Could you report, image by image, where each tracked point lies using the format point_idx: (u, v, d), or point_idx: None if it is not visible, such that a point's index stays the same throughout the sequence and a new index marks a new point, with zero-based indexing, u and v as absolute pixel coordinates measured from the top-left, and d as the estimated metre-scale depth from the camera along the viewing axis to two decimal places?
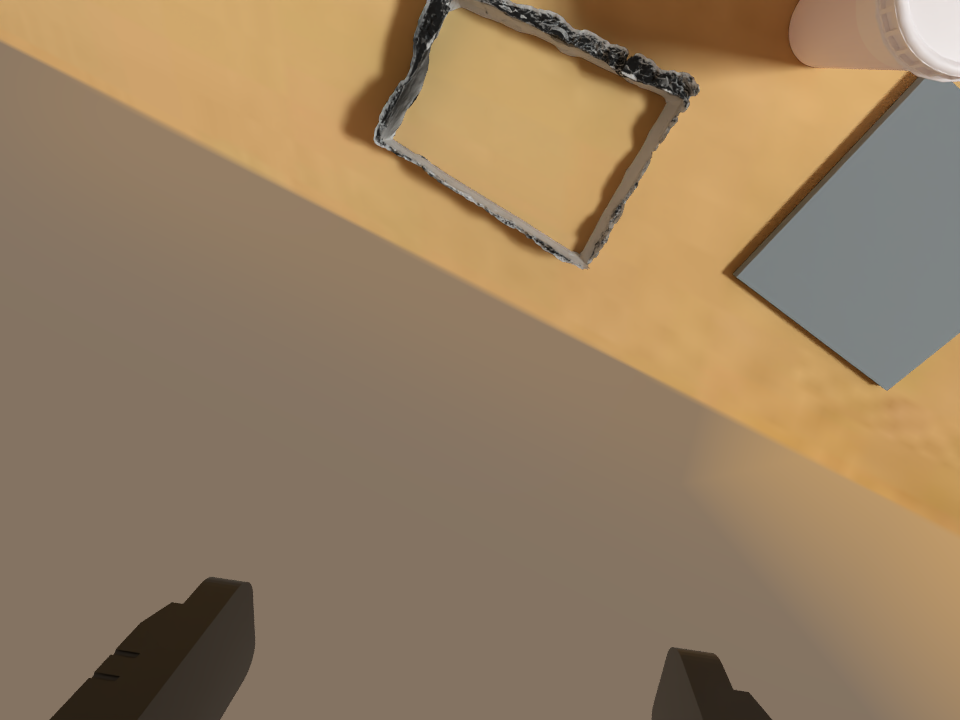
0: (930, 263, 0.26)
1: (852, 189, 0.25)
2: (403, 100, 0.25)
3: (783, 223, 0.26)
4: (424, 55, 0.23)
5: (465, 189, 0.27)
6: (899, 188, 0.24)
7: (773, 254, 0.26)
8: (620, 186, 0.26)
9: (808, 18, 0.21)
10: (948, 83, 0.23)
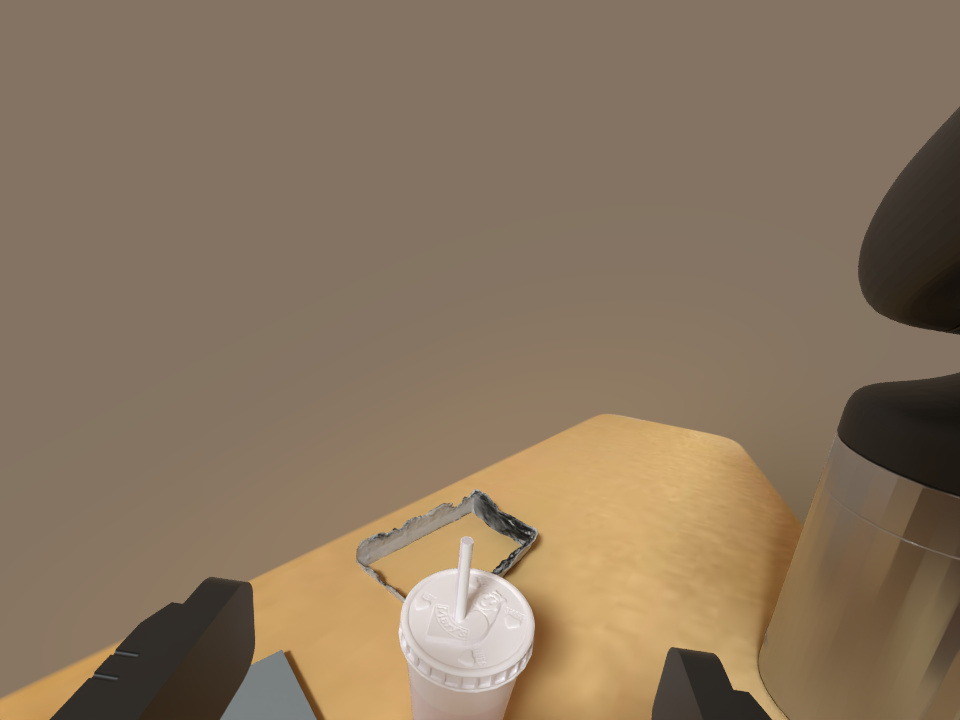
0: None
1: None
2: (488, 511, 0.45)
3: (303, 695, 0.28)
4: (506, 520, 0.43)
5: (433, 524, 0.43)
6: None
7: (282, 679, 0.28)
8: (396, 597, 0.36)
9: None
10: None
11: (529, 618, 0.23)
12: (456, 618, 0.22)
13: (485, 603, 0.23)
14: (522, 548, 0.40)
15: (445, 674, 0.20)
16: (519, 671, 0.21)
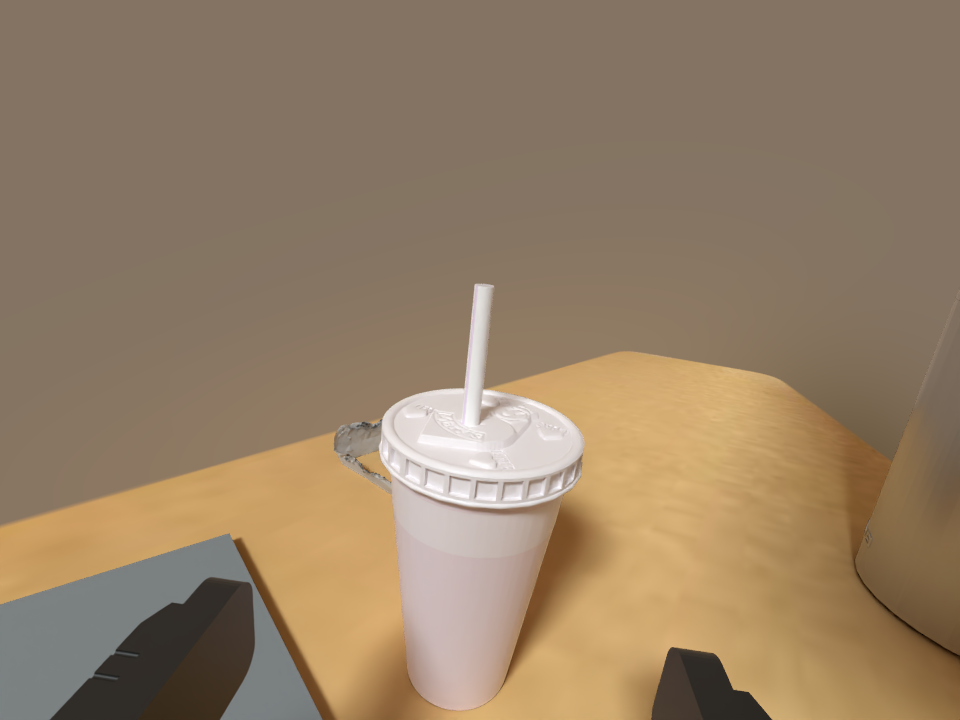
0: None
1: None
2: None
3: (252, 583, 0.20)
4: None
5: None
6: None
7: (224, 563, 0.21)
8: (383, 488, 0.28)
9: None
10: None
11: (574, 433, 0.15)
12: (466, 421, 0.15)
13: (509, 414, 0.16)
14: None
15: (450, 477, 0.13)
16: (565, 489, 0.14)
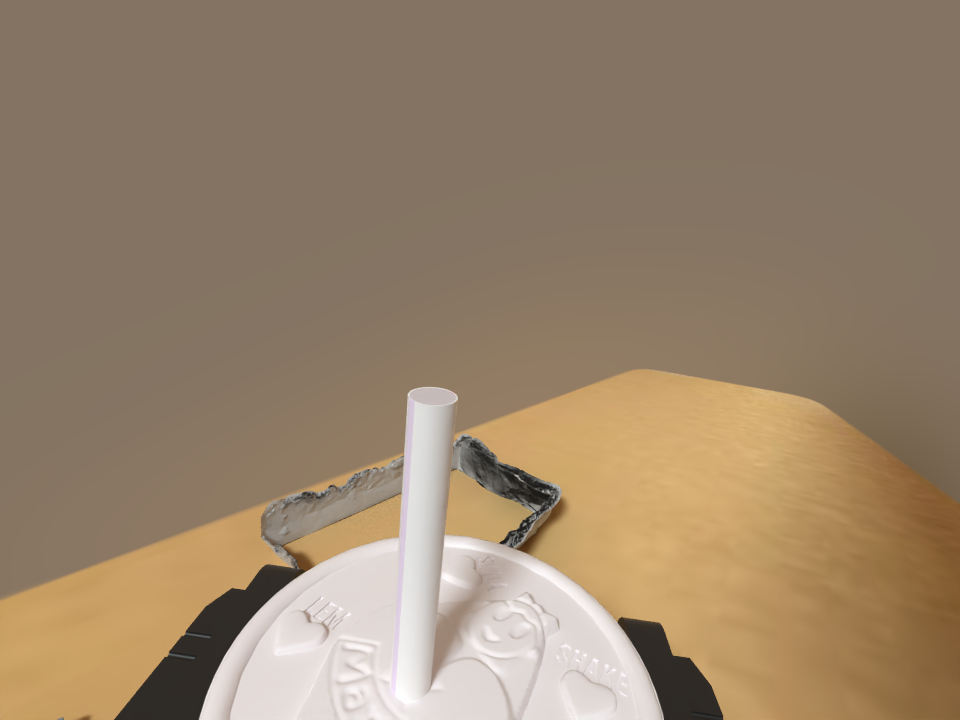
0: None
1: None
2: (483, 464, 0.30)
3: None
4: (510, 474, 0.28)
5: (398, 483, 0.28)
6: None
7: None
8: None
9: None
10: None
11: (637, 683, 0.07)
12: (398, 690, 0.06)
13: (499, 633, 0.08)
14: (540, 513, 0.25)
15: None
16: None
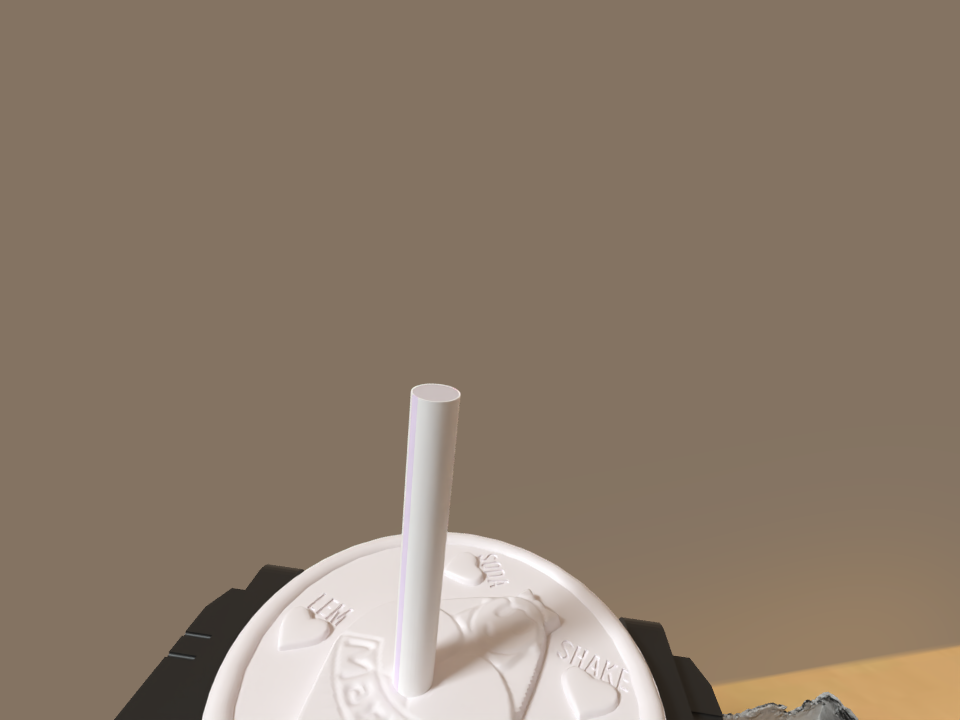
0: None
1: None
2: None
3: None
4: None
5: None
6: None
7: None
8: None
9: None
10: None
11: (639, 679, 0.07)
12: (401, 685, 0.06)
13: (501, 629, 0.08)
14: None
15: None
16: None
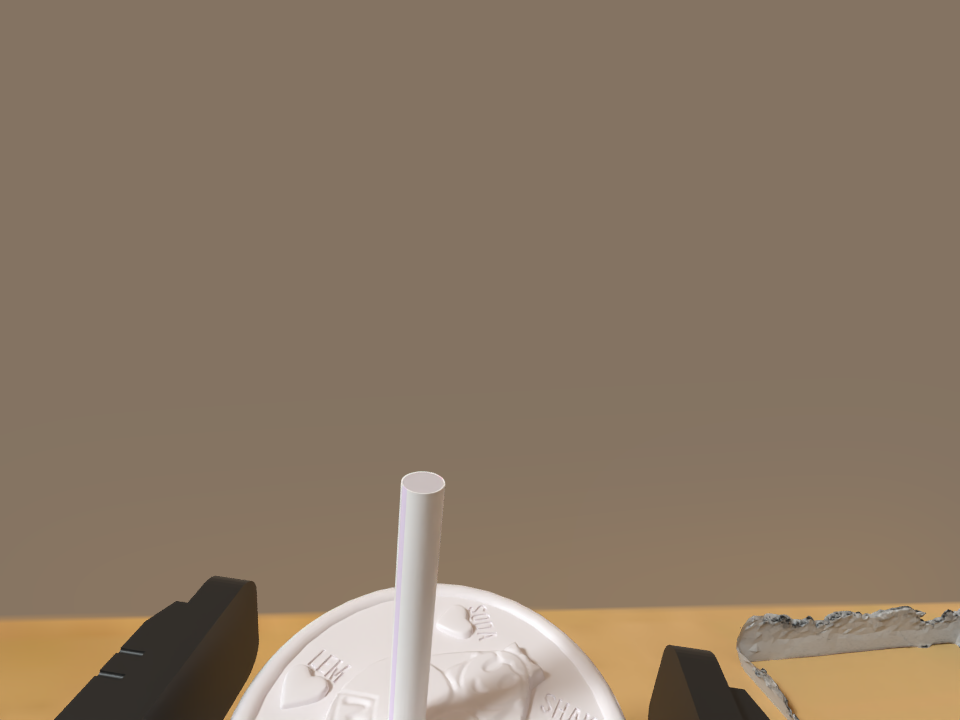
0: None
1: None
2: None
3: None
4: None
5: (879, 637, 0.23)
6: None
7: None
8: None
9: None
10: None
11: None
12: None
13: (488, 685, 0.08)
14: None
15: None
16: None
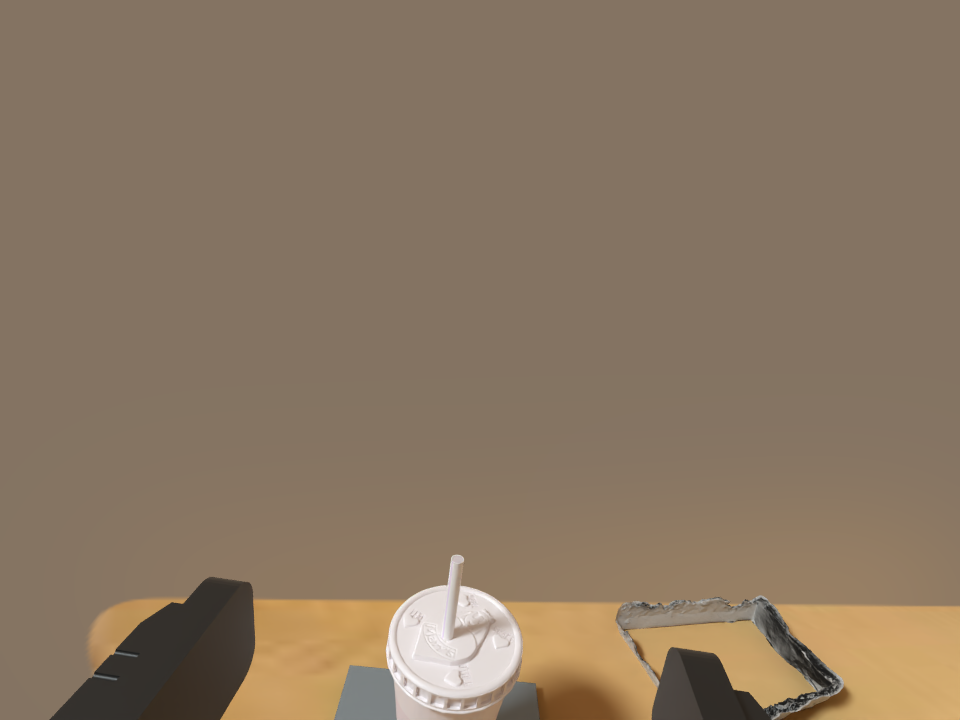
0: None
1: None
2: (775, 628, 0.38)
3: None
4: (798, 649, 0.36)
5: (703, 615, 0.39)
6: None
7: (528, 712, 0.30)
8: (651, 678, 0.34)
9: None
10: None
11: (517, 638, 0.23)
12: (444, 637, 0.22)
13: (474, 622, 0.23)
14: (818, 695, 0.32)
15: (431, 694, 0.20)
16: (506, 693, 0.21)
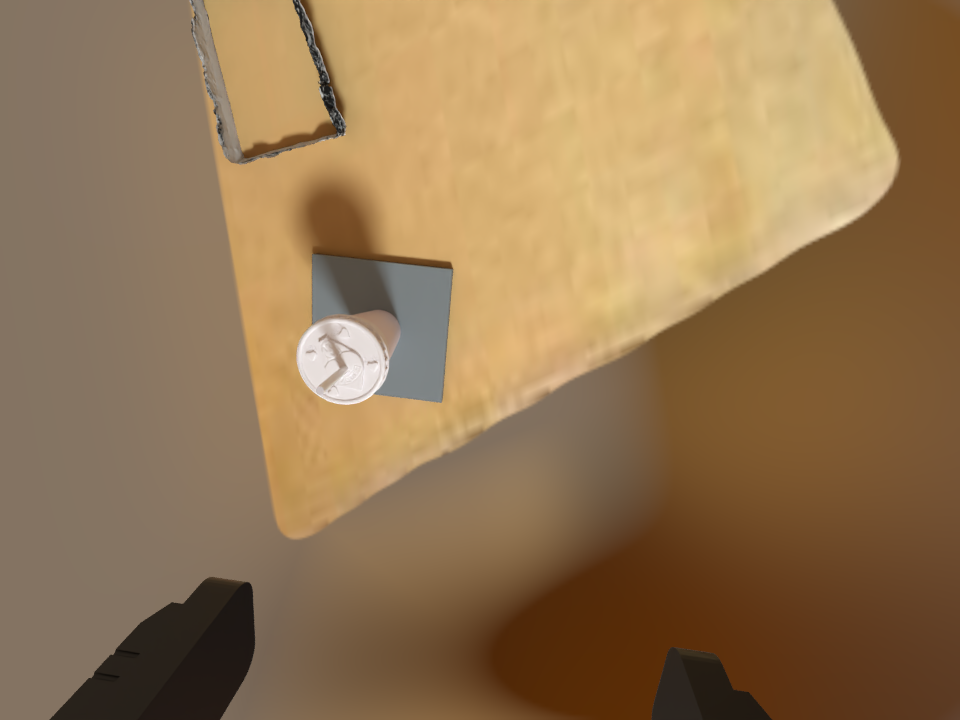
0: None
1: (386, 277, 0.41)
2: None
3: (352, 258, 0.41)
4: None
5: (211, 55, 0.38)
6: (400, 300, 0.42)
7: (335, 264, 0.41)
8: (290, 146, 0.39)
9: None
10: (449, 281, 0.41)
11: (340, 320, 0.33)
12: (347, 372, 0.33)
13: (331, 350, 0.33)
14: None
15: (382, 377, 0.34)
16: (374, 330, 0.33)
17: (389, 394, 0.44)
